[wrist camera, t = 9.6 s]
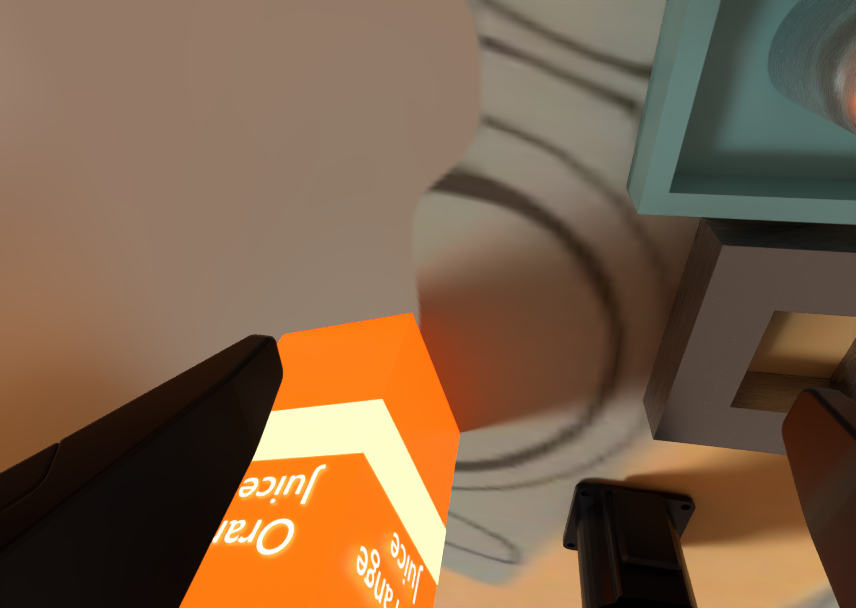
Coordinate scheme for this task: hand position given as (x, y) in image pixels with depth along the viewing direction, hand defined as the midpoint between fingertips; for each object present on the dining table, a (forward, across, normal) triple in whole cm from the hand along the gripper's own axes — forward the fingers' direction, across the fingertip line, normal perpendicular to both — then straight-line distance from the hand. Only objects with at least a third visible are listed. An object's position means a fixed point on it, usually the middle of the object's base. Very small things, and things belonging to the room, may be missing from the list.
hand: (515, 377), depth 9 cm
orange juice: (+13, +7, +13) cm, 19 cm away
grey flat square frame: (+12, -12, +7) cm, 19 cm away
